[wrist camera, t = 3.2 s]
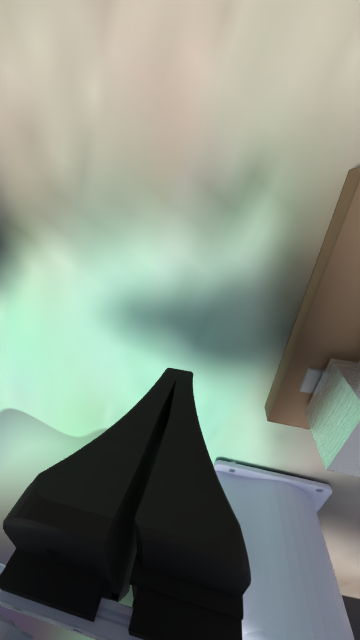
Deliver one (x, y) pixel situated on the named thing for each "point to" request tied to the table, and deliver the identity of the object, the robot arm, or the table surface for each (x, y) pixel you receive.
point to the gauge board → (323, 314)
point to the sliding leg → (337, 417)
